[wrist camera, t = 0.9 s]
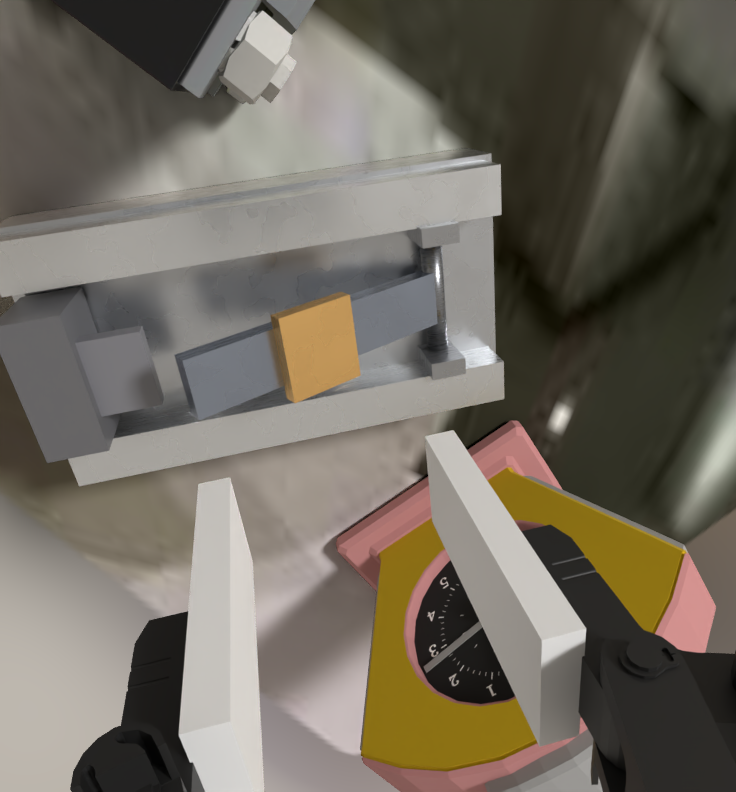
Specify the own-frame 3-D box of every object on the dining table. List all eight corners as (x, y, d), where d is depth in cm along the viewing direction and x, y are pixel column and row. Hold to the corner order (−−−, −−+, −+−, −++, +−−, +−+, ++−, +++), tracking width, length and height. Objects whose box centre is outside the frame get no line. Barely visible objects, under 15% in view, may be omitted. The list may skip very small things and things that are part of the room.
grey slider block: (20, 297, 31) (-12, 327, 27) (140, 277, 32) (127, 304, 28) (69, 419, 34) (47, 463, 30) (176, 398, 35) (169, 438, 31)
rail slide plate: (11, 216, 33) (-38, 243, 27) (465, 147, 37) (513, 158, 30) (94, 434, 40) (69, 497, 34) (474, 360, 43) (515, 404, 37)
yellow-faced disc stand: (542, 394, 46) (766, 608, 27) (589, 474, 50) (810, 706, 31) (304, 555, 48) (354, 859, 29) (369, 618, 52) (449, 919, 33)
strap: (163, 318, 27) (178, 328, 25) (431, 235, 34) (455, 239, 33) (199, 443, 30) (214, 458, 28) (438, 341, 37) (460, 349, 36)
